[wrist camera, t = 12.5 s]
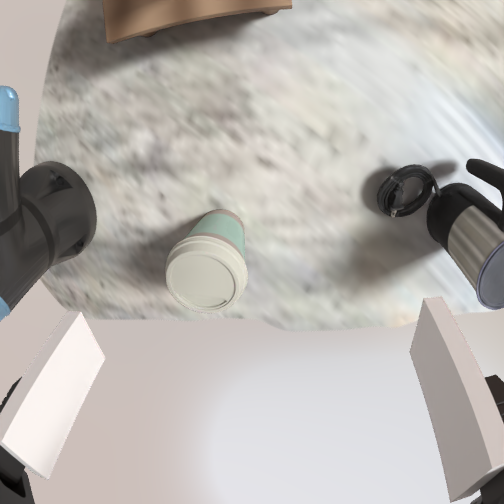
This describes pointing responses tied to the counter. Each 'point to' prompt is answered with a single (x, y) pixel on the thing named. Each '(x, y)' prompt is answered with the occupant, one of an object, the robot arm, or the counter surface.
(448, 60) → the counter surface
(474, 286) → the milk frother
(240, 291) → the coffee cup
